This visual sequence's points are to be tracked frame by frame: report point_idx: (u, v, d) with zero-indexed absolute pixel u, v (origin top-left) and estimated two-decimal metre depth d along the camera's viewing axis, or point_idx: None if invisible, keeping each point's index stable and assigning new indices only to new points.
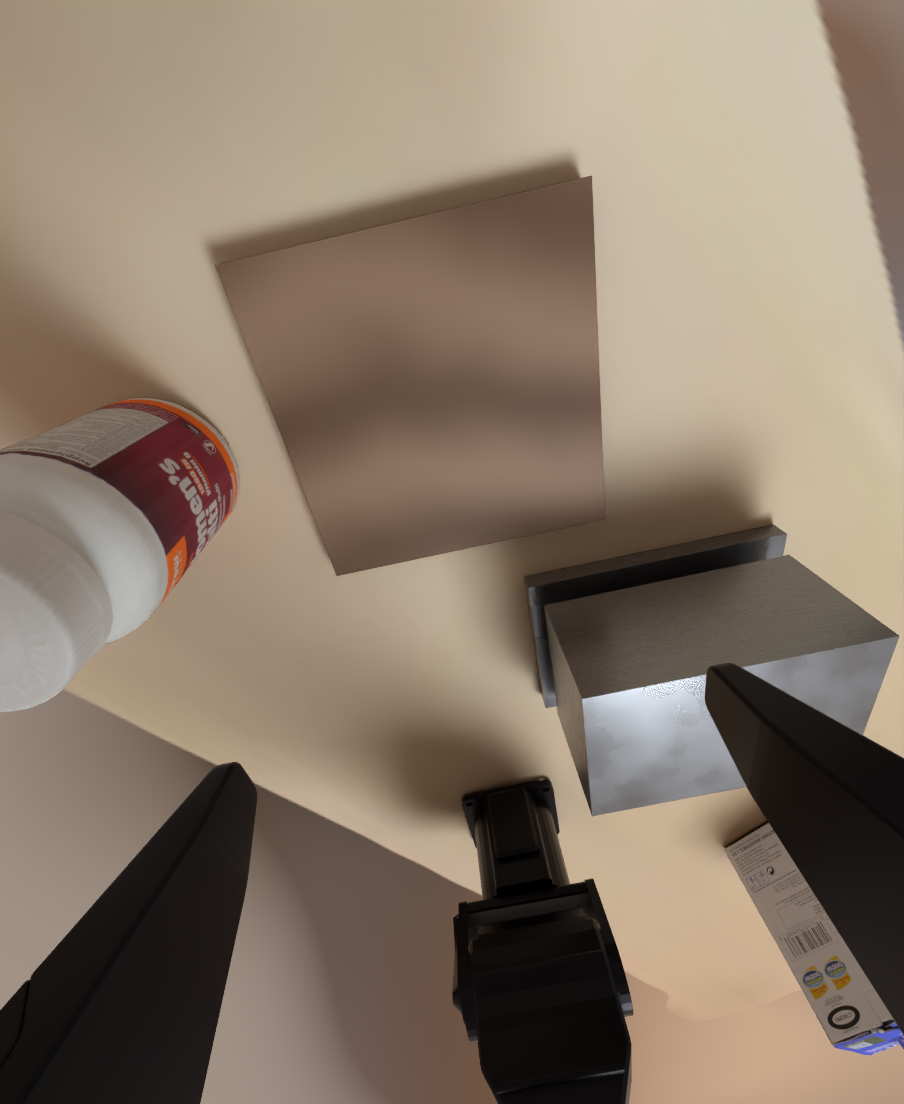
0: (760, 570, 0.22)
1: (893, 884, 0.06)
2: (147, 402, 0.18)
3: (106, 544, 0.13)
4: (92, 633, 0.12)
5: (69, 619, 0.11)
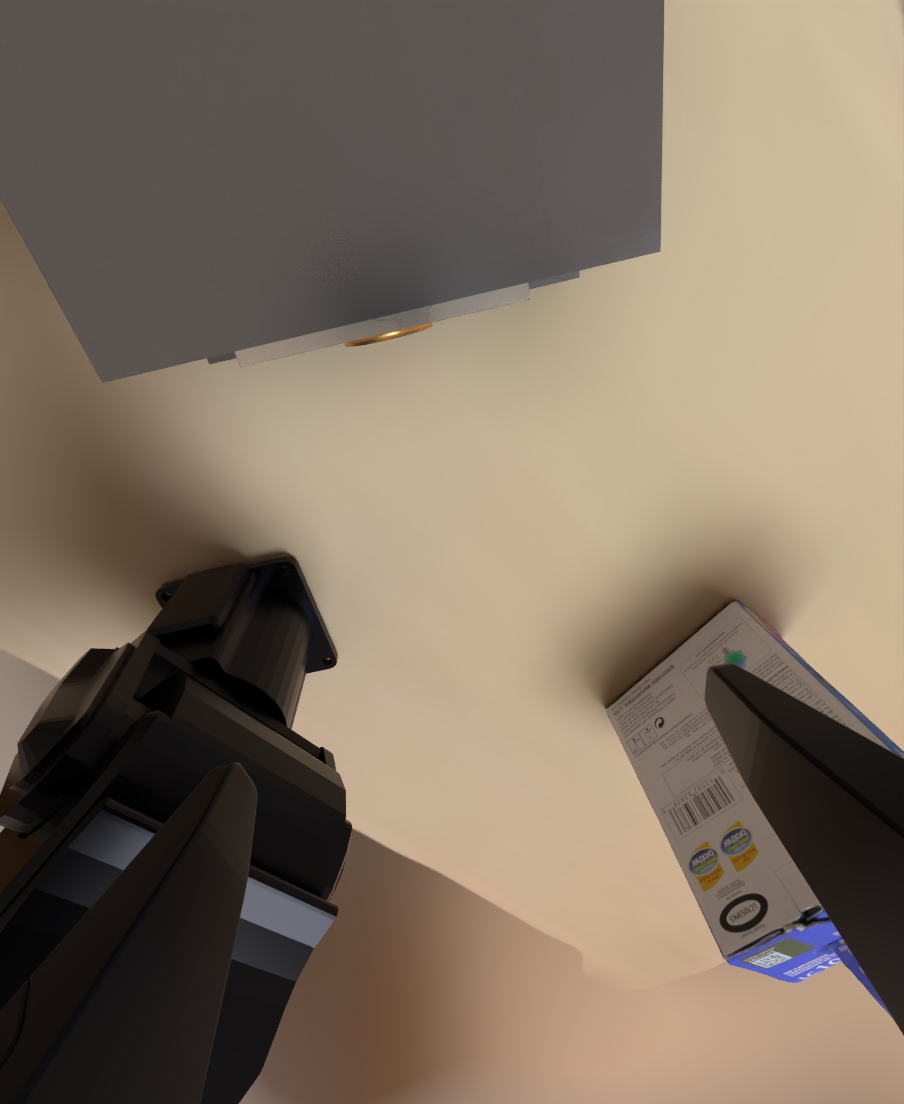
0: None
1: (893, 884, 0.06)
2: None
3: None
4: None
5: None
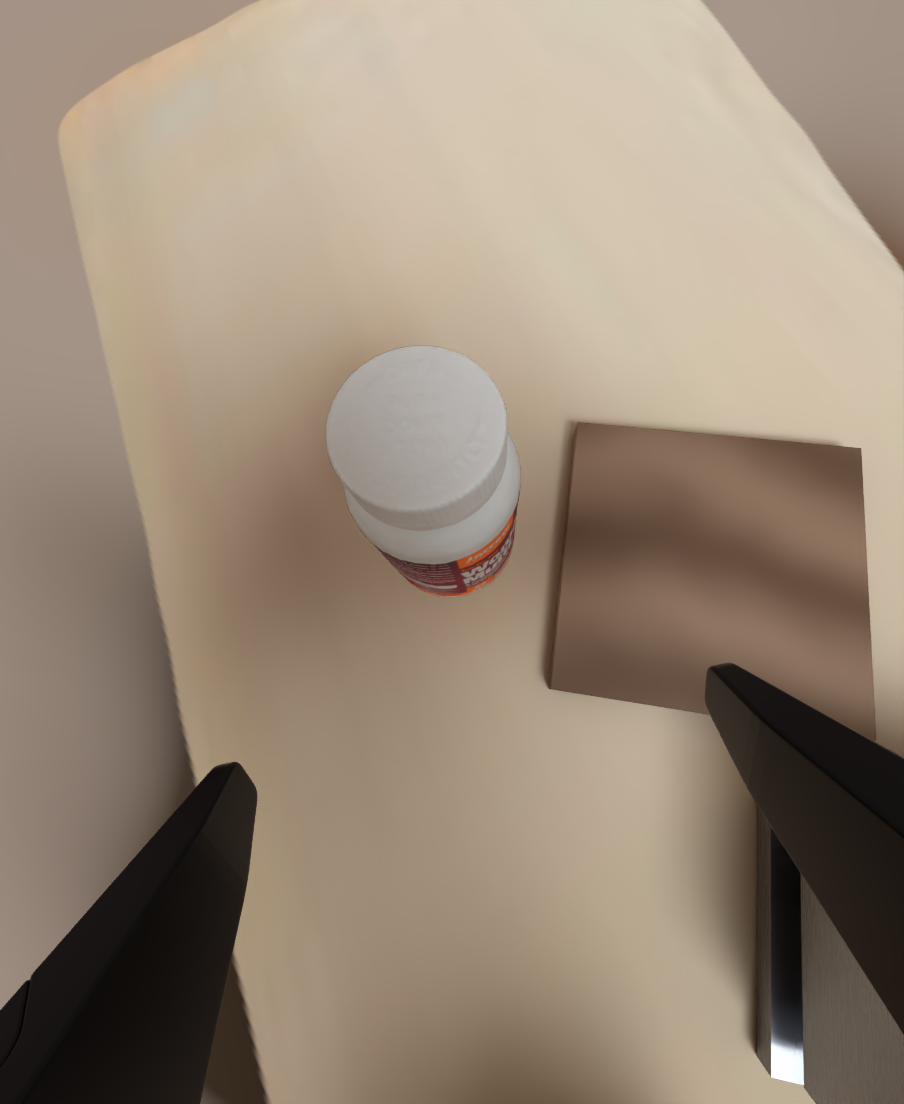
0: None
1: (893, 884, 0.06)
2: None
3: (506, 459, 0.15)
4: (491, 483, 0.13)
5: (504, 448, 0.13)
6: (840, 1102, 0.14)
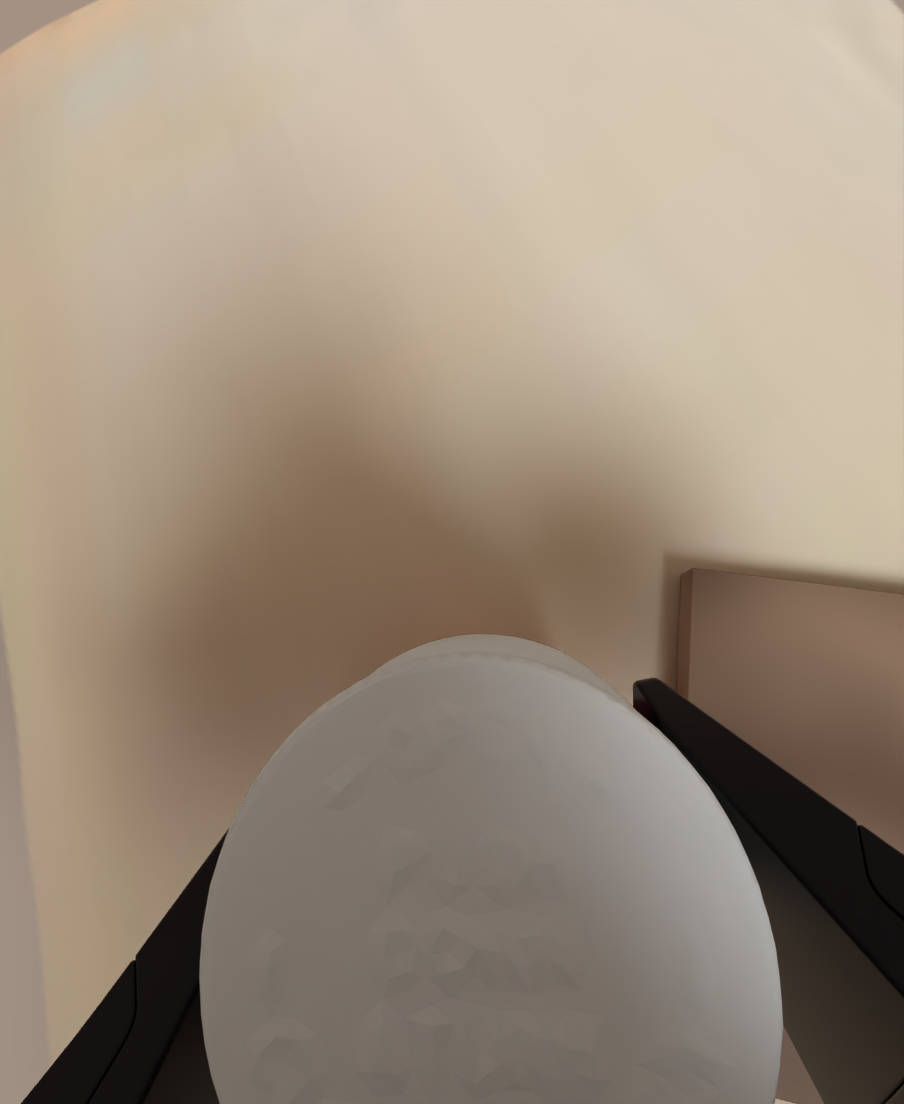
0: None
1: (777, 905, 0.06)
2: None
3: None
4: None
5: (768, 1052, 0.04)
6: None
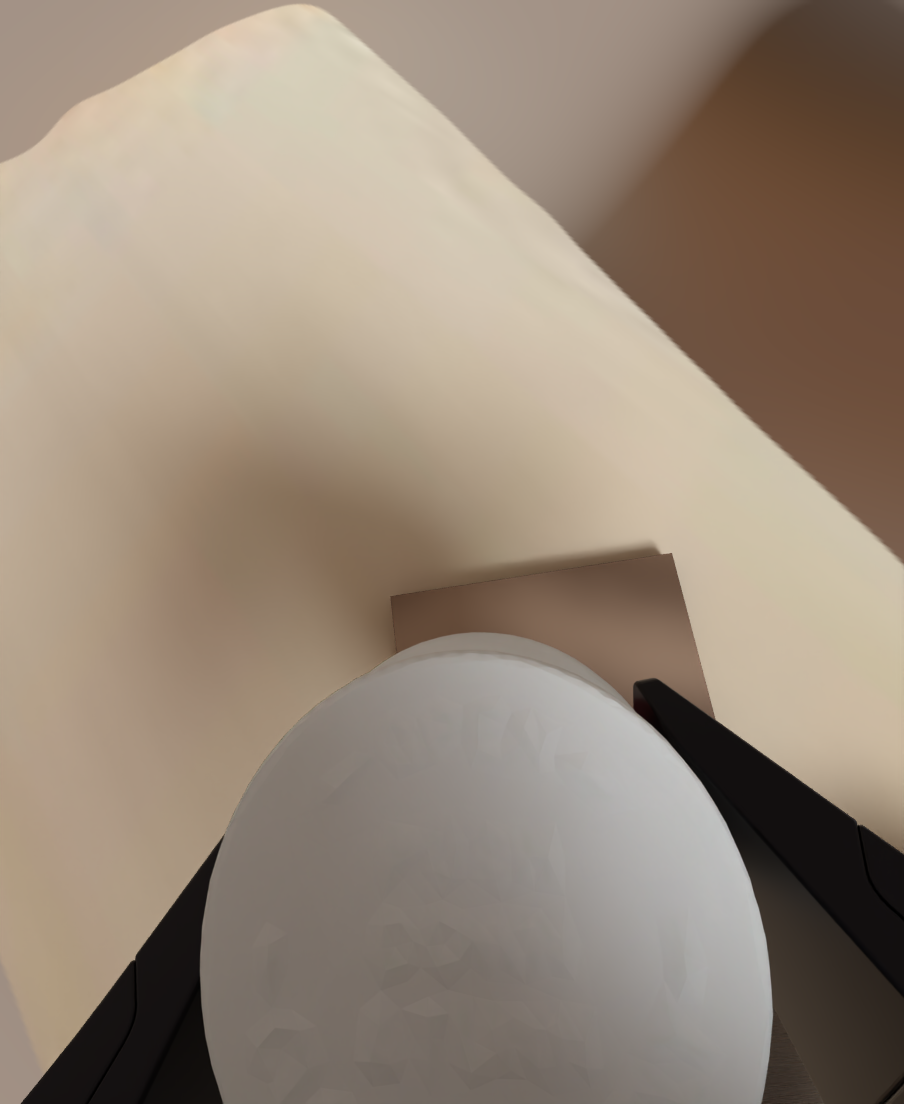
0: None
1: (777, 905, 0.06)
2: None
3: None
4: None
5: (759, 1042, 0.04)
6: None
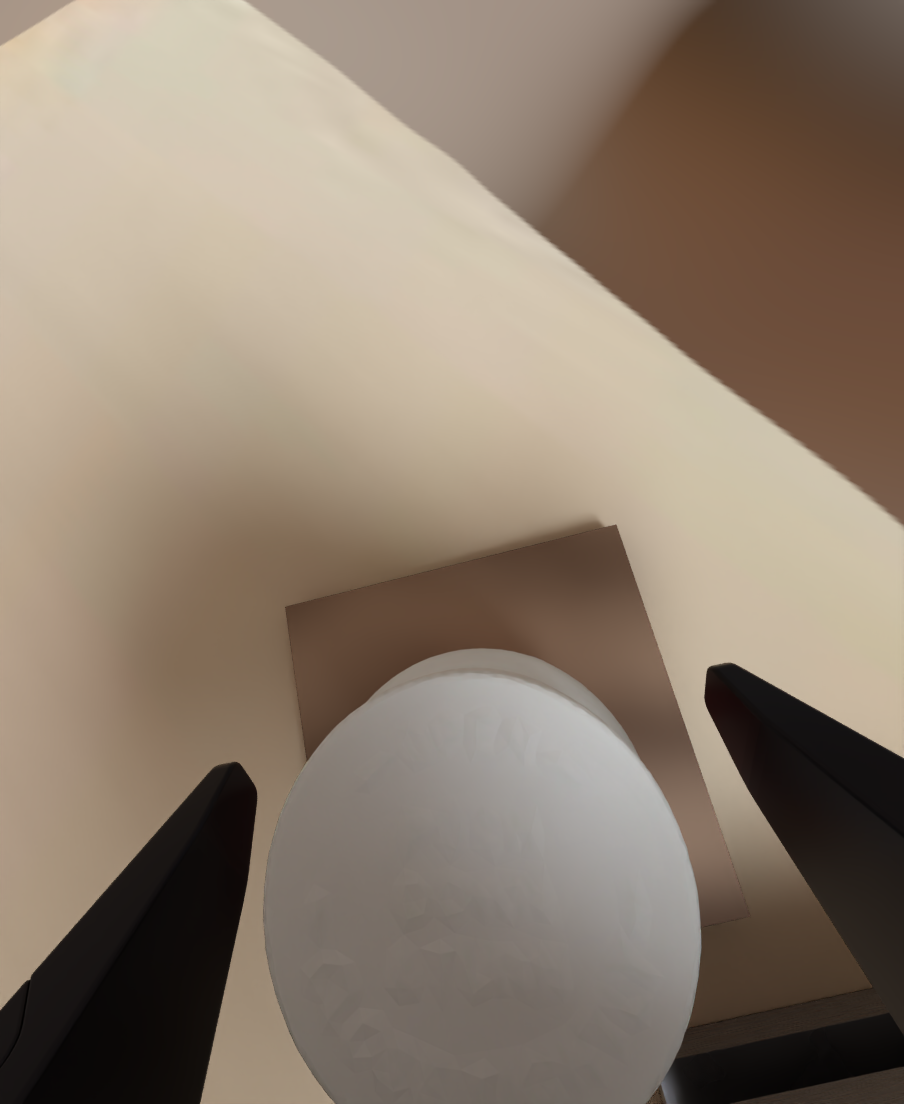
0: None
1: (893, 884, 0.06)
2: None
3: None
4: None
5: (693, 970, 0.05)
6: None
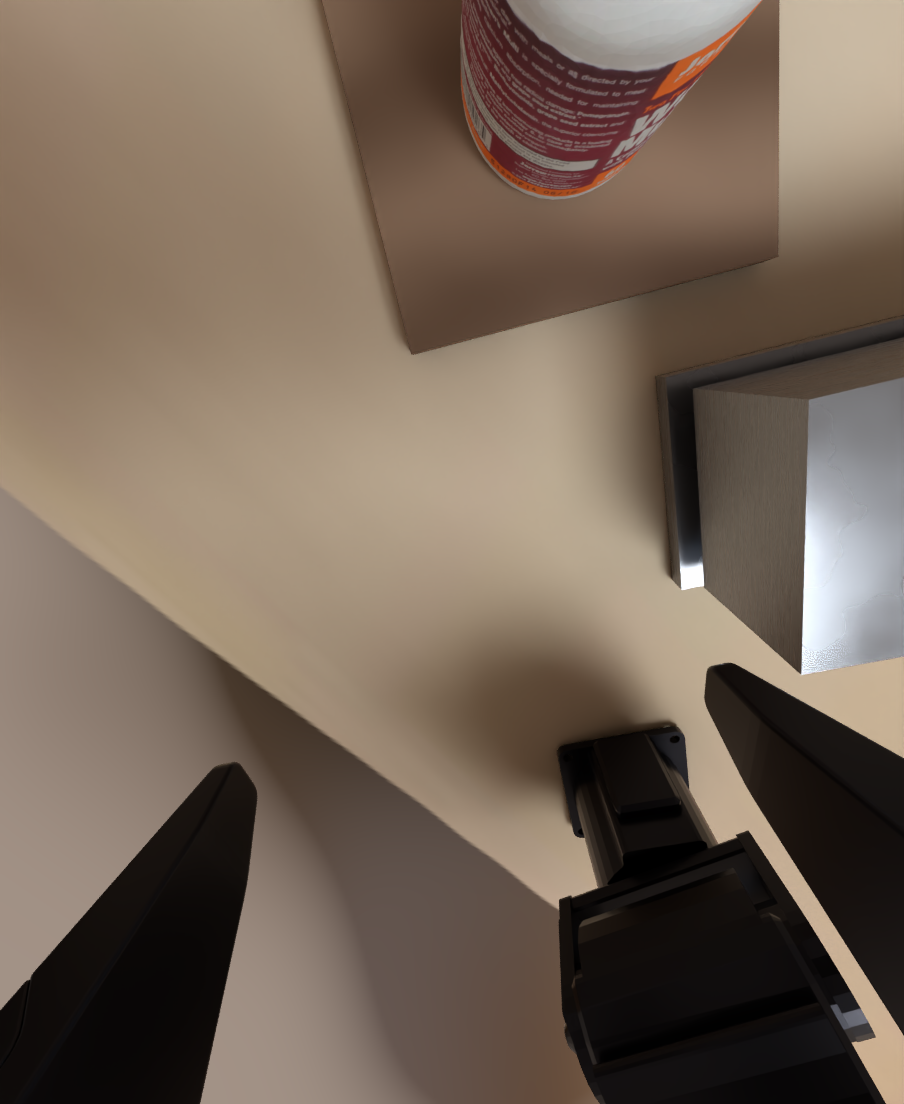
0: None
1: (893, 884, 0.06)
2: None
3: None
4: None
5: None
6: (726, 587, 0.18)
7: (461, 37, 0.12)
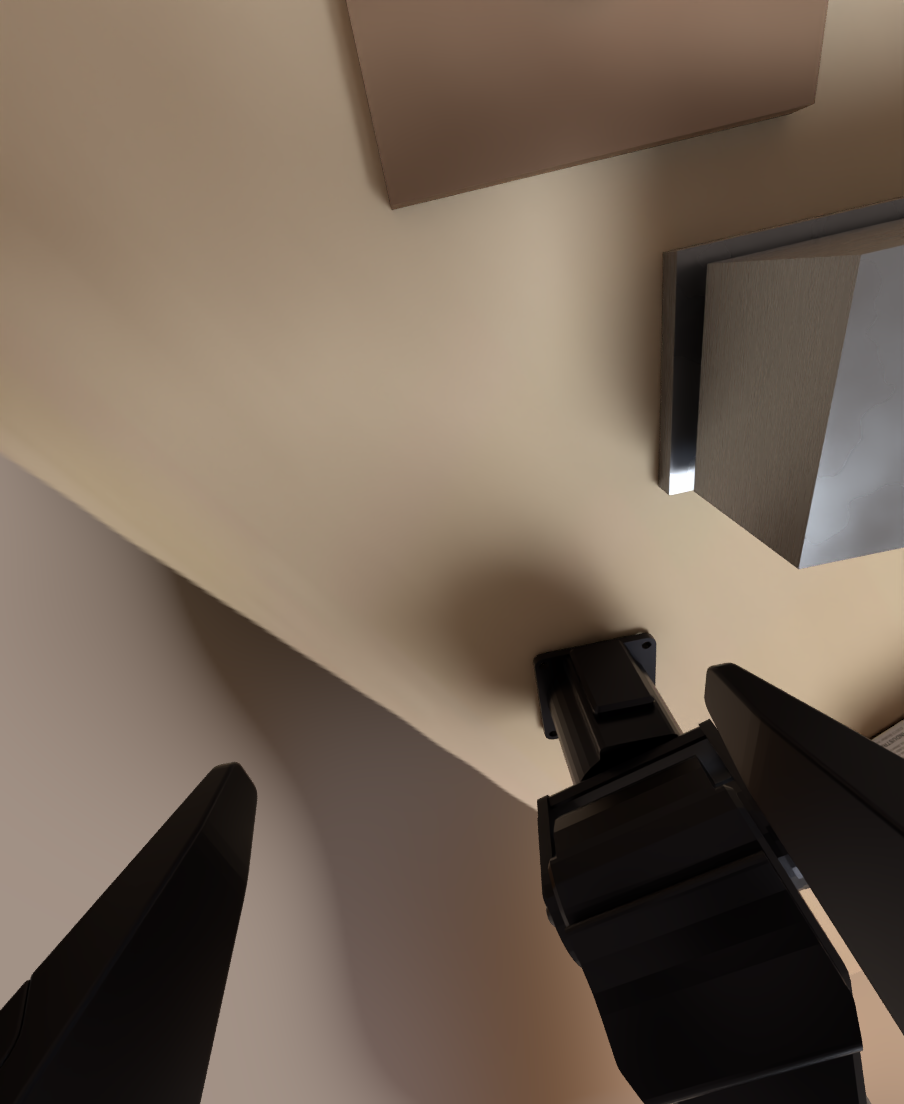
0: None
1: (893, 884, 0.06)
2: None
3: None
4: None
5: None
6: (720, 488, 0.17)
7: None
